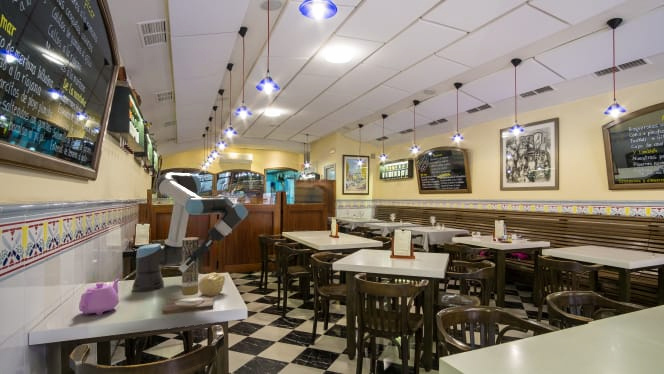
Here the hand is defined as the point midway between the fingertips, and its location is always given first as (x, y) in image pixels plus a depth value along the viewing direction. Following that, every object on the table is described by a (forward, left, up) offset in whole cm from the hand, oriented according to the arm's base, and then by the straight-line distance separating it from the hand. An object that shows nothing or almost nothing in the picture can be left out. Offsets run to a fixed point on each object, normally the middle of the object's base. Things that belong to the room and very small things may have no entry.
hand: (181, 268), depth 152 cm
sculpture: (-17, +12, -17) cm, 27 cm away
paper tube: (0, +4, -12) cm, 12 cm away
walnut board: (0, +3, -17) cm, 17 cm away
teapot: (-6, -33, -17) cm, 37 cm away
